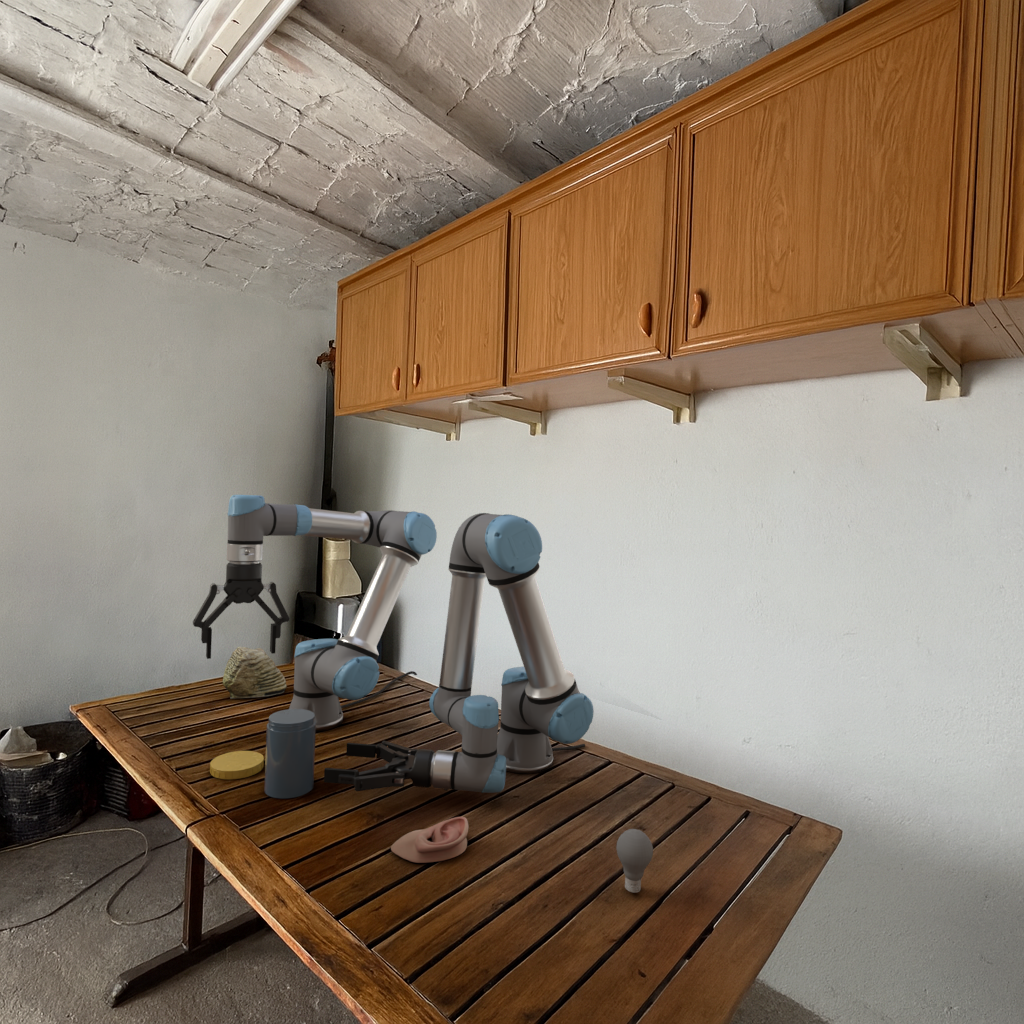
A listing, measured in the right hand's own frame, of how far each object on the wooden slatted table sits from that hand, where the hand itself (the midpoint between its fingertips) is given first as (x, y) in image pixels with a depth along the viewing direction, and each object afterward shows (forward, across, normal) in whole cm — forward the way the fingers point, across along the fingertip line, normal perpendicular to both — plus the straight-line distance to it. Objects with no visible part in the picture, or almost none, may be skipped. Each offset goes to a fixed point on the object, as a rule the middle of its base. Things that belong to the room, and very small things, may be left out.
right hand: (336, 761), depth 137 cm
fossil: (+47, +58, -6) cm, 75 cm away
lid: (+26, +7, -5) cm, 27 cm away
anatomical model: (-25, -19, -6) cm, 32 cm away
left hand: (+26, +7, +20) cm, 33 cm away
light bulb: (-61, -27, -6) cm, 66 cm away
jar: (+10, 0, -6) cm, 12 cm away
